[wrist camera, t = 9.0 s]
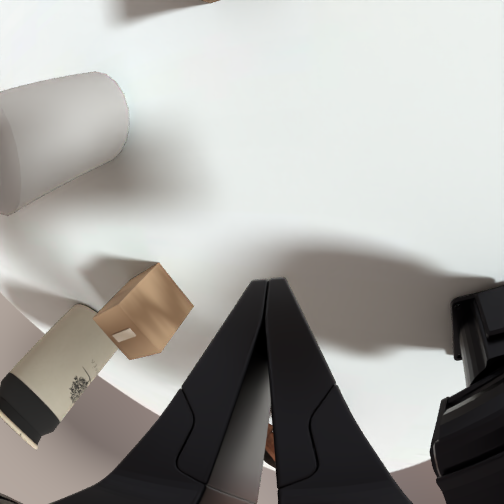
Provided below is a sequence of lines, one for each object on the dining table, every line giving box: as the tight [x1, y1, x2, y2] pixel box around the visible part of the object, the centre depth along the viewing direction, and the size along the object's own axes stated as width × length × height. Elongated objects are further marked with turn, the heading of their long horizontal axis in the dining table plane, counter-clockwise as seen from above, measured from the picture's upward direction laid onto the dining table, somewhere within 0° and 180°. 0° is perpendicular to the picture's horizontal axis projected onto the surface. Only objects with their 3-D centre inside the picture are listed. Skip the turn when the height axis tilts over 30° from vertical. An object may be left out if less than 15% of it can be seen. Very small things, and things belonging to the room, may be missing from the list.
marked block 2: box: [92, 263, 194, 360], centre depth 27 cm, size 5×5×6 cm
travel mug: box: [0, 304, 118, 449], centre depth 30 cm, size 8×8×18 cm
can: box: [0, 71, 130, 216], centre depth 17 cm, size 8×8×12 cm
